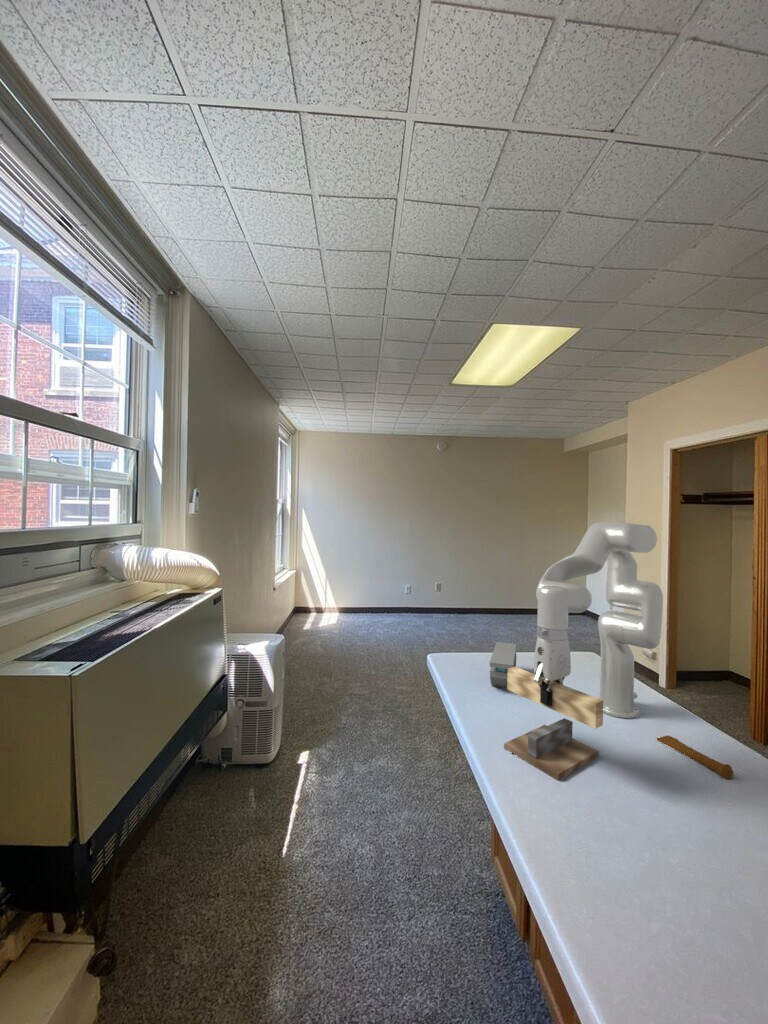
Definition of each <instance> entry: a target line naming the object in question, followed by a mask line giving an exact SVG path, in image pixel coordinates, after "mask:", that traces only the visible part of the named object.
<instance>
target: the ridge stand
mask: <svg viewBox="0 0 768 1024" xmlns="http://www.w3.org/2000/svg"><path fill="white" fill-rule="evenodd" d="M573 723H574V722H573V721H572V720H570V719H568V718H566V717H564V718H562V719H559V720H558V721H555V722H553V723H551V724H549V725H546V724H543V725H541V726H539V727H537V728H535V729H532V730H530V731H528V732H525V733H523V734H522V735H519V736H517V737H515V738H513V739H510V740H508V741H506V742H504V743H503V748H505V749H506V751H507V750H509V751H510V752H512V753H514V754H515V755H517V756H518V757H517V756H516V757H517V758H519V757H520V758H522V759H523V760H522V759H521V760H522V761H524V760H525V761H524V762H526V761H527V762H528V763H527V762H526V763H527V764H528V765H531V766H532V765H533V766H532V767H534V768H536V769H537V768H538V769H537V770H539V771H541V772H543V773H544V774H546V775H548V776H549V777H551V778H553V779H555V780H556V781H560V780H561V778H562V779H563V778H565V777H567V776H568V775H571V774H572V773H573V772H575V771H577V770H578V769H580V768H582V767H583V766H585V765H586V764H588V763H591V762H592V761H593V760H595V759H597V758H598V757H599V756H600V750H598V749H596V748H594V747H592V746H590V745H589V744H586V743H584V742H582V741H579V740H577V739H576V738H573V726H574V725H573ZM505 749H504V750H505ZM509 751H508V752H509ZM510 752H509V753H510ZM512 753H511V754H512ZM514 754H513V755H514ZM515 755H514V756H515ZM520 758H519V759H520ZM566 775H567V776H566Z"/></svg>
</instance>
